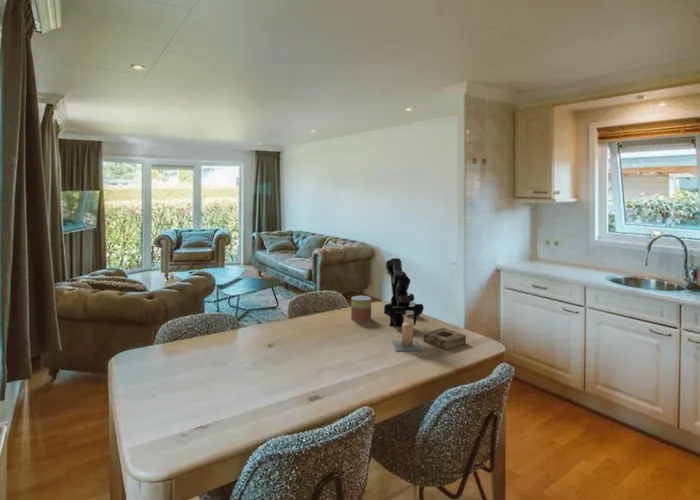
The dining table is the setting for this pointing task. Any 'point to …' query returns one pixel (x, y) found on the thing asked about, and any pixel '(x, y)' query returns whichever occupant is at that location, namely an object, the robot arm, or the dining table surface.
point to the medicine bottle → (410, 306)
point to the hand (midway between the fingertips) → (405, 324)
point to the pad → (399, 347)
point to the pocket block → (444, 338)
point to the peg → (407, 334)
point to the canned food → (361, 308)
